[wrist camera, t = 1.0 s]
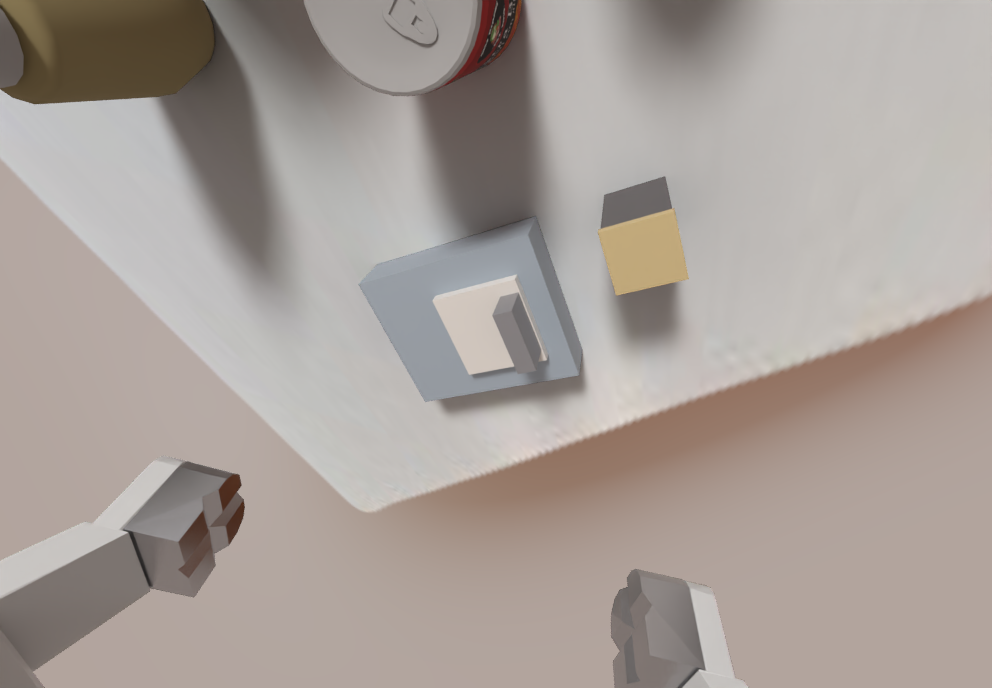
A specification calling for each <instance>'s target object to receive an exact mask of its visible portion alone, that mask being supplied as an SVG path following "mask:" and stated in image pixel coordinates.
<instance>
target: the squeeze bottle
mask: <svg viewBox="0 0 992 688" xmlns="http://www.w3.org/2000/svg"><path fill="white" fill-rule="evenodd" d="M214 46H215V40H214V31H213V24H212V21H211V19H210V16H209V13H208V11H207V8H206V6H205V4H204V2H203V1H202V0H0V89H1V90H2V91H4V92H5V93H7V94H8V95H10V96H11V97H13V98H16V99H19V100H22V101H26V102H29V103H32V104H48V103H64V102H81V101H97V100H114V99H131V98H147V97H159V96H164V95H170V94H175V93H177V92H178V91H179V90H180V89H181V88H182V87H183V86H184V85H185V84H186V83H188V82H189V81H190V80H191V79H192V78H193V77H194V76H195V75H196V74H197V73H198V72H199V71H200V70H201V69H202V68H203V67H204V66H205V65H206V64H207V63H208V62H209V61H210V60H211V57H212V53H213V50H214Z"/></svg>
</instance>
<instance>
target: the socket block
mask: <svg viewBox="0 0 992 688" xmlns="http://www.w3.org/2000/svg"><path fill="white" fill-rule="evenodd" d="M516 274H517V275H518V278H519V281H520V283H521V286H522V288H523V291H524V293H525V296H526V298H527V301H528V304H529V306H530V309H531V311H532V314H533V316H534V319H535V321H536V324H537V327H538V329H539V332H540V334H541V337H542V339H543V342H544V344H545V347H546V350H547V352H548V358H547V360H545V361H540V362H538V366H537V370H536V371H532V372H527V373H521V374H518V373H517V371H516V369H515V367H514V366H513V367H508V368H503V369H498V370H492V371H487V372H482V373H476V374H471V375H469V374H468V372H467V370H466V368H465V366H464V364H463V362H462V360H461V358H460V356H459V354H458V352H457V350H456V348H455V346H454V344H453V342H452V340H451V337H450V335H449V333H448V331H447V329H446V327H445V325H444V323H443V321H442V319H441V317H440V315H439V313H438V311H437V309H436V307H435V305H434V303H433V299H434V297H435V296H436V295H440V294H444V293H448V292H451V291H455V290H459V289H463V288H467V287H470V286H474V285H478V284H482V283H486V282H489V281H493V280H497V279H501V278H505V277H508V276H512V275H516ZM358 285H359V286H360V288H361V290H362V292H363V293H364V295H365V297H366V299H367V300H368V302H369V304H370V306H371V307H372V309H373V311H374V313H375V314H376V316H377V318H378V320H379V321H380V323H381V325H382V327H383V329H384V330H385V332H386V334H387V336H388V337H389V339H390V341H391V343H392V344H393V346H394V348H395V350H396V351H397V353H398V355H399V357H400V358H401V360H402V362H403V364H404V365H405V367H406V369H407V371H408V373H409V374H410V376H411V378H412V380H413V381H414V383H415V385H416V387H417V388H418V390H419V392H420V394H421V395H422V397H423V399H424V401H425V402H427V401H433V400H439V399H445V398H451V397H457V396H462V395H468V394H474V393H480V392H486V391H491V390H497V389H503V388H509V387H515V386H520V385H526V384H532V383H538V382H544V381H550V380H555V379H561V378H567V377H573V376H579V373H580V365H581V357H582V347H581V344H580V341H579V339H578V336H577V333H576V330H575V327H574V324H573V321H572V319H571V316H570V313H569V310H568V307H567V304H566V301H565V299H564V296H563V293H562V290H561V287H560V284H559V281H558V278H557V276H556V273H555V270H554V267H553V264H552V261H551V258H550V256H549V253H548V250H547V247H546V244H545V241H544V238H543V235H542V233H541V230H540V227H539V224H538V221H537V218H536V216H535V217H532V218H528V219H525V220H522V221H519V222H515V223H512V224H509V225H506V226H502V227H499V228H496V229H493V230H489V231H486V232H483V233H479V234H476V235H473V236H470V237H466V238H463V239H460V240H457V241H453V242H450V243H447V244H444V245H440V246H437V247H434V248H430V249H427V250H424V251H421V252H417V253H414V254H411V255H408V256H404V257H401V258H398V259H395V260H391V261H388V262H385V263H381V264H378V265H376V266H375V267H374V269H373V270H372V271H371V272H370V273H369V274H368V275H367V276H366V277H365V278H364V279H363V280H362V281H361V282H360V283H359V284H358Z"/></svg>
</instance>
